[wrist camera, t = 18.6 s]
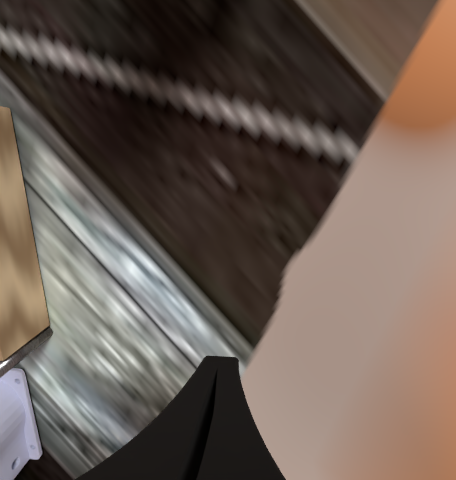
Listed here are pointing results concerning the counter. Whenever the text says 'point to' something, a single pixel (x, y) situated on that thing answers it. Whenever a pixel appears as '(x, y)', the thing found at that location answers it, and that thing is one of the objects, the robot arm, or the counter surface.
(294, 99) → the counter surface
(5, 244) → the board
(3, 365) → the cream square rimmed piece
